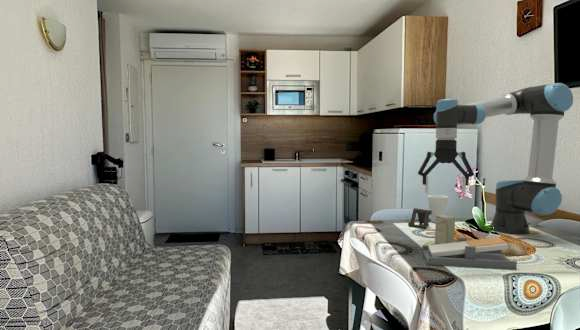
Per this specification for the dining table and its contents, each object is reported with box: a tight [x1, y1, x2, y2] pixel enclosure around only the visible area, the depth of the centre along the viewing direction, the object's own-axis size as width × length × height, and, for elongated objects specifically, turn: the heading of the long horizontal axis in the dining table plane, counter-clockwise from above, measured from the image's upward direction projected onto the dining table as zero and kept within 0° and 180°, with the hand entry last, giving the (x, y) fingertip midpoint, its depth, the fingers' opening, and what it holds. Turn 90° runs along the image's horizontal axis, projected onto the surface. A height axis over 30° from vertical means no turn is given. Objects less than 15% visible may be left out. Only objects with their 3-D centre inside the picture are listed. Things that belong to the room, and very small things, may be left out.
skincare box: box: [434, 214, 456, 245], centre depth 146 cm, size 6×4×12 cm
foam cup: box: [427, 194, 449, 224], centre depth 190 cm, size 10×9×13 cm
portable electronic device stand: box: [407, 207, 432, 230], centre depth 179 cm, size 9×8×8 cm
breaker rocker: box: [427, 236, 508, 257], centre depth 129 cm, size 24×9×2 cm, turn 78°
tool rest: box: [502, 242, 528, 256], centre depth 139 cm, size 12×12×2 cm
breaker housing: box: [421, 236, 517, 270], centre depth 130 cm, size 27×15×6 cm, turn 78°
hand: (444, 193), depth 145 cm, fingers open, 13 cm apart
